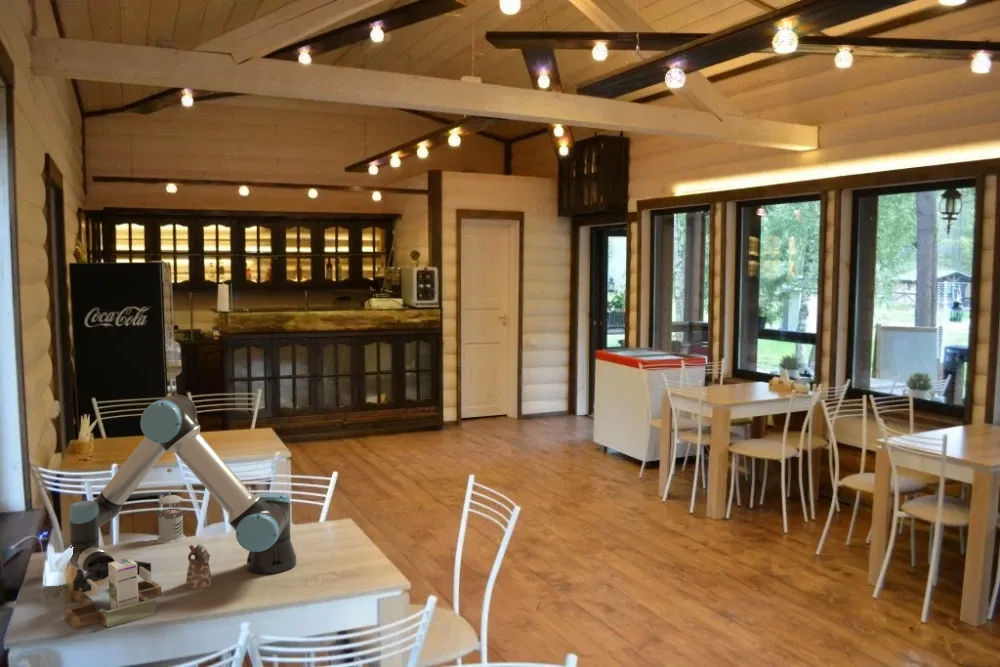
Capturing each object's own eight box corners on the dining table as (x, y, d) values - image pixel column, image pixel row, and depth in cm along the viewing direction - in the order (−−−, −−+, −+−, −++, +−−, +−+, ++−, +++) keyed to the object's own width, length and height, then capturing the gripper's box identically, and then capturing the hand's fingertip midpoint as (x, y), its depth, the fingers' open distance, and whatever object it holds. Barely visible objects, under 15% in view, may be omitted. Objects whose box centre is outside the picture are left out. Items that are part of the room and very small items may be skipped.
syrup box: (139, 614, 215) (138, 562, 214) (117, 621, 210) (115, 567, 209) (131, 608, 218) (130, 556, 218) (108, 615, 214) (107, 562, 213)
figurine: (206, 589, 233) (205, 548, 232) (182, 588, 233) (181, 548, 232) (215, 580, 240) (214, 540, 239) (192, 579, 240) (191, 540, 239)
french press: (151, 543, 273) (149, 471, 271) (163, 532, 284) (162, 463, 283) (180, 543, 273) (179, 471, 272) (191, 532, 285) (190, 463, 283)
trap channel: (49, 603, 221) (49, 589, 221) (141, 580, 239) (141, 567, 238) (81, 635, 202) (80, 619, 202) (178, 607, 219) (178, 593, 219)
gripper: (141, 566, 237) (170, 585, 222) (48, 588, 220) (73, 611, 205) (140, 541, 237) (170, 559, 222) (47, 561, 219) (72, 582, 204)
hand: (124, 584), depth 213 cm, fingers open, 13 cm apart
